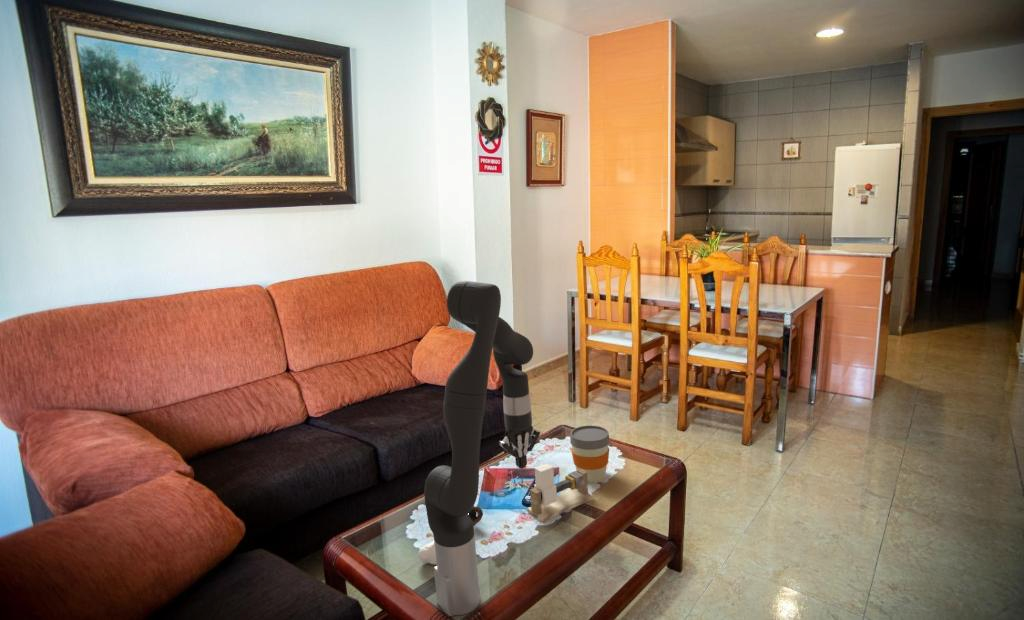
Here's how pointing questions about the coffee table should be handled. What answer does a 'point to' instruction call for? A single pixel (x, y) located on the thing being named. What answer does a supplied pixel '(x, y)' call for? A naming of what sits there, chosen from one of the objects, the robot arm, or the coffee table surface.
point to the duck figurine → (428, 553)
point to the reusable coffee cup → (590, 451)
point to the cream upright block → (545, 484)
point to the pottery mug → (475, 512)
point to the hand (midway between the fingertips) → (521, 467)
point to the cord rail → (562, 496)
